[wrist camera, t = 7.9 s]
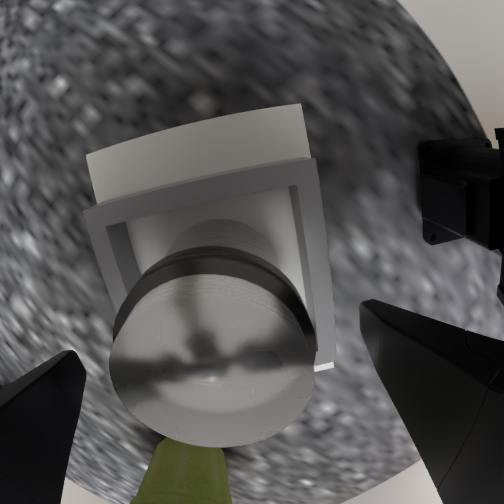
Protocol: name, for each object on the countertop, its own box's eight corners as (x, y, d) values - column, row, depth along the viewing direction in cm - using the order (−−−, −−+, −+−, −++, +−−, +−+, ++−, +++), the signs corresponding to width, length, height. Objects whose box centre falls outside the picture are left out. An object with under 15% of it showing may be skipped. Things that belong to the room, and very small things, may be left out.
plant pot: (160, 475, 25) (149, 543, 16) (122, 421, 22) (97, 503, 13) (249, 472, 25) (254, 546, 16) (230, 416, 22) (231, 512, 13)
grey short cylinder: (274, 199, 13) (316, 258, 6) (293, 318, 14) (330, 435, 8) (142, 227, 13) (62, 305, 6) (178, 338, 14) (148, 456, 8)
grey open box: (285, 114, 15) (312, 95, 9) (317, 328, 19) (343, 392, 14) (118, 152, 15) (62, 157, 10) (178, 353, 19) (162, 420, 14)
